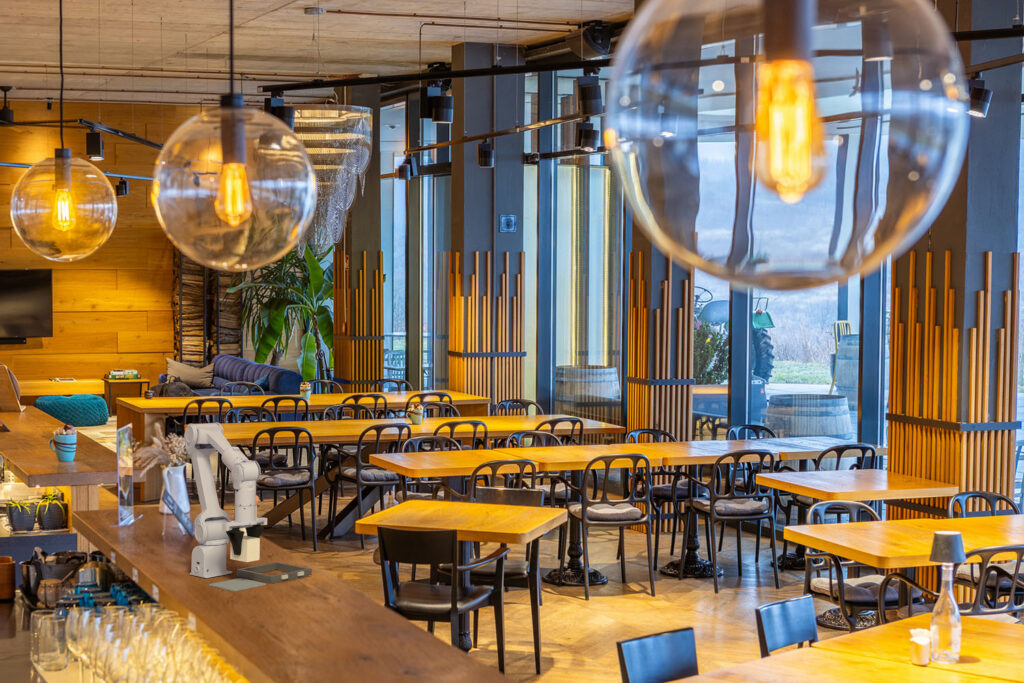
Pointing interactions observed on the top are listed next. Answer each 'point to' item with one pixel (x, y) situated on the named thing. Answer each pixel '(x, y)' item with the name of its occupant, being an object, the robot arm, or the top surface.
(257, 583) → the slate mat
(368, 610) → the top surface
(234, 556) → the block
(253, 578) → the frame
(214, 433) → the robot arm
